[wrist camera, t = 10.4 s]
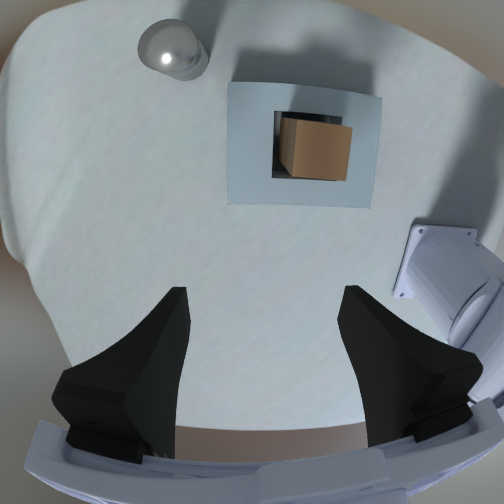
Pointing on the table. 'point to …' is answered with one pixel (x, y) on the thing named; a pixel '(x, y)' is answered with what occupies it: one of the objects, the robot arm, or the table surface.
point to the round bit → (173, 50)
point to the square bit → (314, 148)
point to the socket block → (261, 145)
